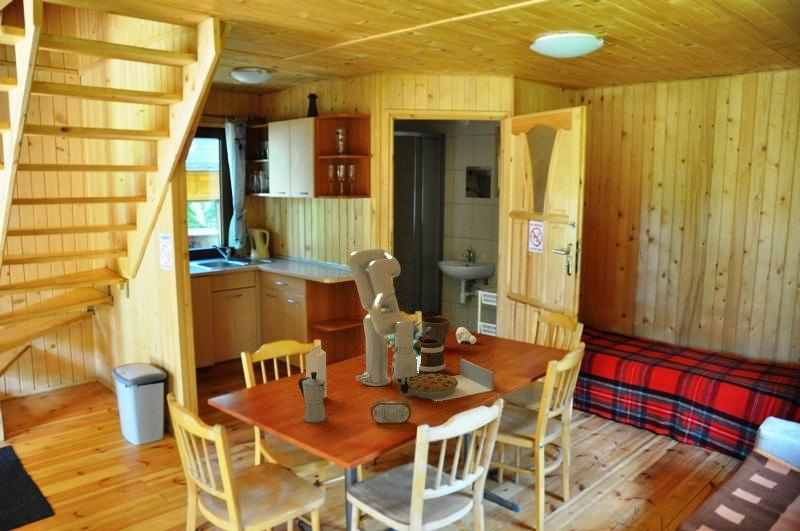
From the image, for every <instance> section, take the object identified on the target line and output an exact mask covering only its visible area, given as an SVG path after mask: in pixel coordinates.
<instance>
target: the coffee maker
mask: <svg viewBox="0 0 800 531" xmlns="http://www.w3.org/2000/svg"><path fill="white" fill-rule="evenodd" d="M316 376H317V372H311V377H312V378H310V377H307V378H306V377H301V378H299V380H298V387H299V390H300V392H301V394H302V397H303V398H304V399H305V405H304V414H303V421H304V422H306V423H309V424H317V423H318V424H319V423H321V422H324V421H326V419H327V418H326V412H325V405H324V400H323V399H325V398H324V392H325V384H326V385H327V380H326V381H325V380H323V379H319V378H316Z"/></svg>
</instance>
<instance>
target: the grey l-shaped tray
mask: <svg viewBox="0 0 800 531" xmlns="http://www.w3.org/2000/svg"><path fill="white" fill-rule="evenodd" d="M450 377H455V378H456V380H457V382H458V385H457V387H456V388H455V390H454V392H453V393H452V394H451V395H449V396H447V397H444V398H440V399H433V400H434V401H433V400H432V401H433V402H435V401H436V402H435V403H438V402H437V401H439V402H443V400H444V401H448V400H452V399H453V400H454V399H457V398H463V397H469V396H473V395H478V394H484V393H489V392H494V388H495V387H494V386H495V372H493V371H492V370H489V369H487V368H484V367H482V366H480V365H477V364H475V363H473V362H471V361H468V360H466V359H465V358H460V373H459V375H452V376H450Z"/></svg>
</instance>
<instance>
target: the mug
mask: <svg viewBox="0 0 800 531" xmlns="http://www.w3.org/2000/svg"><path fill="white" fill-rule="evenodd" d="M424 339H425V338H424ZM444 346H445V345H444ZM444 346H443V345H442V342H441V341H440V340H437V339H425V340H424V341H423V342H421V364H420V367H419V375H418V376H420V375H421V374H425V375H426V374H431V373H432V374H442V375H444V374H445V373H446V366H447V365H446V362H445V358H444V357H445V356H444V349H445V347H444Z"/></svg>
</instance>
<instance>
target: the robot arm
mask: <svg viewBox="0 0 800 531" xmlns="http://www.w3.org/2000/svg"><path fill="white" fill-rule="evenodd" d="M348 257H349V258H348V268H349V271H350V274H351V276H352V278H353V280H354V282H355V285H356V288H357V289H356V290H357V292H358V295H359V296H358V297H359V299H360V303H361V306H362V308H363V310H365V311H370V313H368V314H367V315H365V316H364V318H363V321H362V322H363V324H362V325H363V330H364V333H365V334H364V336H365V371H364V372H363V373H362V374H361V375H360V374H359V375H355V380H356V381H362V383H363V384H364V385H366V386H370V387H371V386H372V387H381V386H382V387H383V386H387V385H389V384H391V381H394V382H398V383H399V386H400V389H399V390H400V393H401V394H404V395H406V394H408V393H409V389H408V384H409V383H410V381H411V379H413V378H415V377H416V376H417V375H418V374H417V372H418V371H417V359H416V354H415V352H413V345H414V322H413V320H411V319H407V318H406V317H405V316H402V315H401V311H400V308H399V303H398V301H397V297H396V294H395V290H396V289H395V287H394V285H393V284H394V283H393V281H392V279H393V278H396V277H397V278H398V276H400V275H401V270H402V269H401V265H400V263H399V261H398V259H397V258H395V256H393V255H392V254H391V253H390V252H388V251H387V250H385V249H383V248H371V249H359V250H355V251H353V252H352V253H351V254H350V255H349V256H348ZM382 310H383V311H382ZM392 335H394V343H395V344H394V348H392V352H393V356H392V360H391V376H392V377H389V376H388V341H387V340H386V338H385V337H386V336H392ZM391 378H392V379H391Z"/></svg>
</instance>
